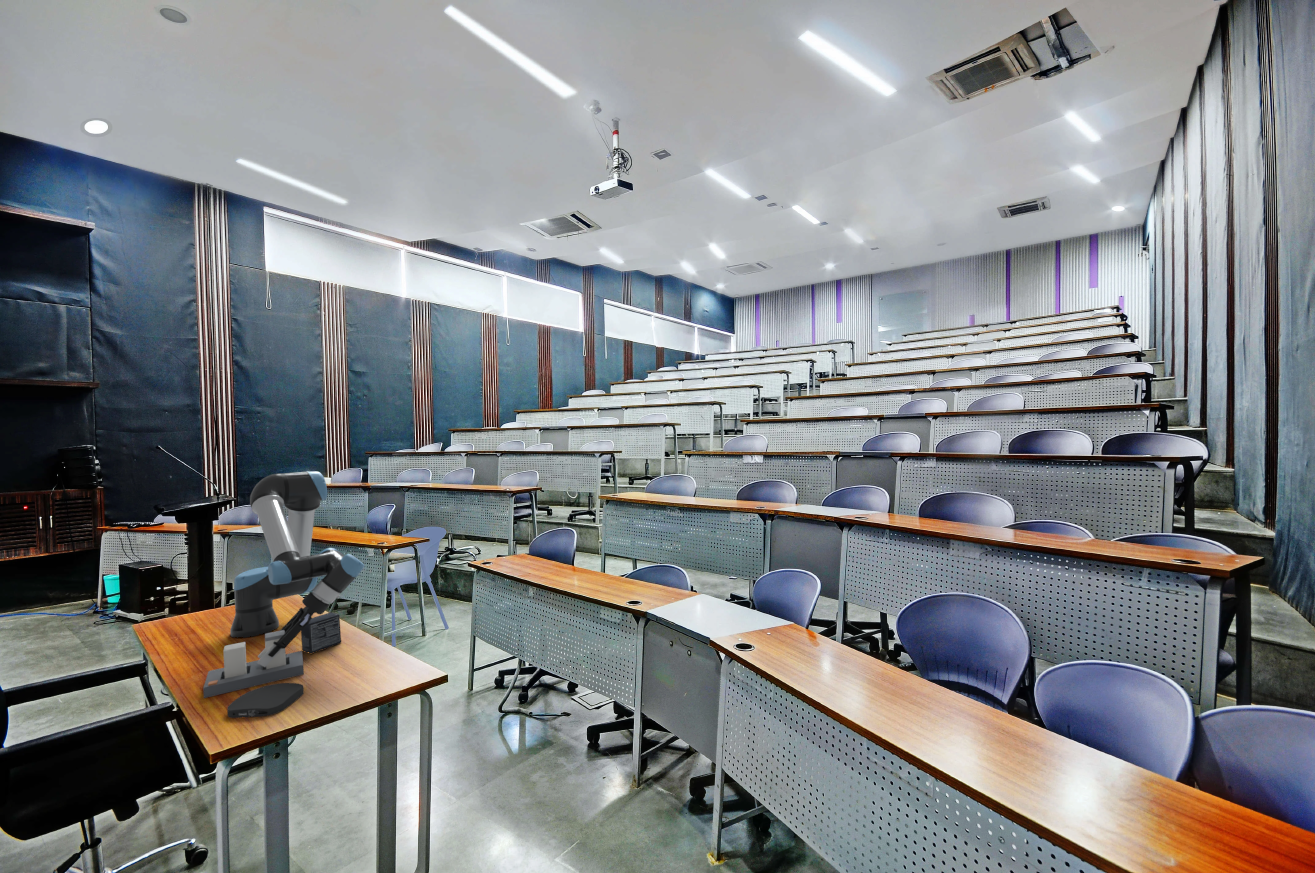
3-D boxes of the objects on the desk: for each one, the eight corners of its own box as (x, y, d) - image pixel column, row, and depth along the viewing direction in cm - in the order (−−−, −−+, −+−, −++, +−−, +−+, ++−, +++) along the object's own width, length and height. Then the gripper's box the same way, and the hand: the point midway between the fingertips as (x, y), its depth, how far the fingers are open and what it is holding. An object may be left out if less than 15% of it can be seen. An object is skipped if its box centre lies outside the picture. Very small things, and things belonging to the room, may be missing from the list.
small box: (332, 640, 198) (330, 611, 198) (342, 643, 195) (340, 613, 195) (300, 650, 189) (299, 620, 189) (310, 654, 186) (309, 623, 185)
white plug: (266, 668, 172) (265, 633, 172) (286, 663, 175) (284, 629, 175) (266, 673, 168) (264, 638, 168) (286, 669, 171) (284, 634, 170)
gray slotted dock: (209, 680, 167) (207, 644, 167) (302, 659, 181) (300, 626, 181) (203, 698, 156) (202, 659, 156) (303, 674, 169) (302, 638, 169)
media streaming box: (309, 690, 159) (309, 680, 159) (277, 717, 144) (276, 705, 144) (258, 693, 158) (257, 683, 158) (220, 720, 144) (219, 708, 144)
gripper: (332, 610, 172) (271, 677, 163) (328, 597, 187) (272, 658, 178) (312, 597, 169) (248, 665, 160) (309, 585, 184) (251, 646, 175)
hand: (261, 661), depth 169 cm, fingers closed on white plug, 5 cm apart
